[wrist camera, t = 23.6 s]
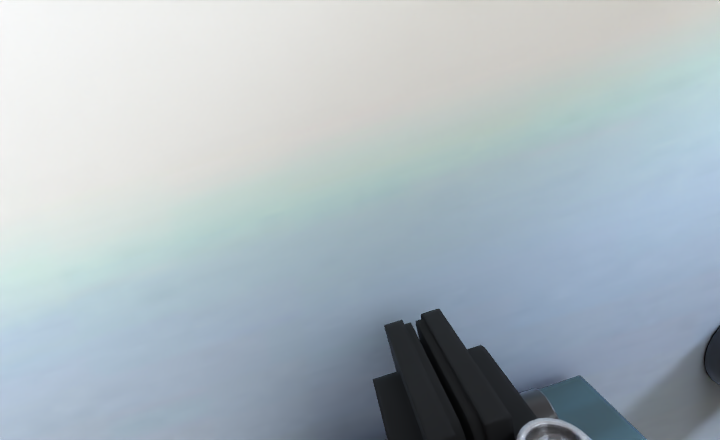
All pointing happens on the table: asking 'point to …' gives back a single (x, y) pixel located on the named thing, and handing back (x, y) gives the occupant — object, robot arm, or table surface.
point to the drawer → (580, 410)
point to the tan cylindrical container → (713, 358)
